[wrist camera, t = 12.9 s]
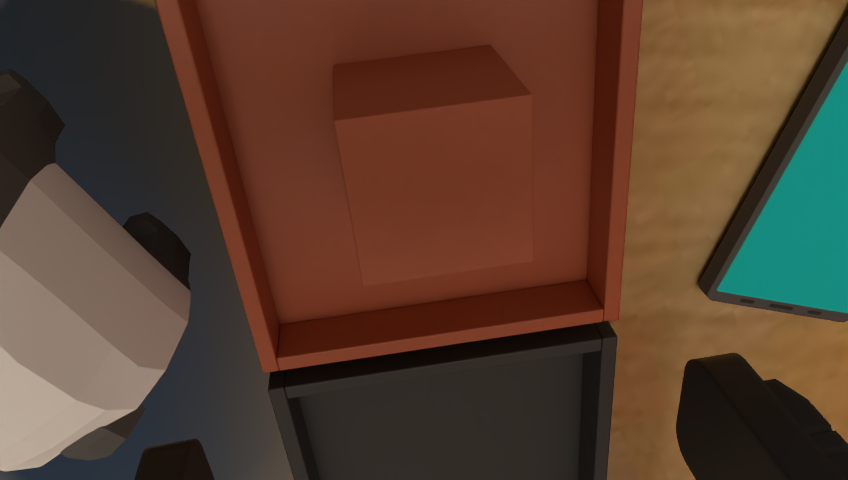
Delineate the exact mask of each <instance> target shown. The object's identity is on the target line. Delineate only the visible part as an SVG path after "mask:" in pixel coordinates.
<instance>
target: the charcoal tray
mask: <svg viewBox="0 0 848 480" xmlns="http://www.w3.org/2000/svg"><path fill="white" fill-rule="evenodd" d="M616 348H617V335H616V334H615V332H614V330H613V329H612V327H611V325H610V324H609V322H608V321H604V320H603V321H602V322H598V323H591V324H584V325H578V326H571V327H565V328H558V329H551V330H545V331H538V332H532V333H525V334H518V335H512V336H505V337H499V338H492V339H485V340H479V341H472V342H466V343H459V344H452V345H446V346H439V347H433V348H426V349H419V350H413V351H406V352H400V353H393V354H386V355H380V356H373V357H367V358H360V359H353V360H347V361H340V362H334V363H327V364H320V365H314V366H307V367H301V368H294V369H287V370H280V369H279V370H278V371H274V372H270V378H269V387H268V392H269V395H270V399H271V402H272V405H273V409H274V413H275V416H276V419H277V423H278V426H279V430H280V433H281V436H282V440H283V443H284V447H285V450H286V454H287V457H288V461H289V464H290V467H291V471H292V474H293V478H294V480H606V479H607V466H608V453H609V440H610V427H611V414H612V401H613V388H614V374H615V361H616Z"/></svg>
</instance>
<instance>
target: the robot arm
mask: <svg viewBox="0 0 848 480" xmlns="http://www.w3.org/2000/svg"><path fill="white" fill-rule="evenodd" d="M676 433H677V440H678V444H679V447H680V451H681V453H682V456H683V458H684V460H685V462H686V464H687V465H688V467H689V469H690V470H691V472H692V474H693V475H694V477H695V479H696V480H848V444H847V443H846V442H845V441H844V439H843V438H842V437H841V436H840V435H839V434H838V433H837V432H836V431H832V429H831V425H830V424H829V423H828V422H827V420H826V419H825V418H824V417H823V416H822V415H821V414H820V413H819V412H818V410H817V409H816V408H815V407H814V406H813V405H812V404H811V403H810V402H809V400H808V399H806V398H805V397H803V396H801V395H800V394H798V393H797V392H795V391H794V390H792V389H790V388H789V387H787V386H786V385H784V384H783V383H781V382H779V381H778V380H776V379H772V380H766V381H763V380H762V379H761V378H760V377H759V375H758V374H757V373H756V372H755V371H754V370H753V368H752V367H751V366H750V365H749V364H748V362H747V361H746V360H745V359H744V358H743V357H742V356H740V355H739V354H737V353H729V354H723V355H717V356H711V357H704V358H698V359H692V360H689V361H688V362H687V364H686V366H685V371H684V377H683V383H682V390H681V396H680V403H679V409H678V415H677V422H676ZM135 480H214V477H213V474H212V472H211V469H210V466H209V464H208V461H207V458H206V456H205V453H204V450H203V448H202V445H201V443H200V442H199V441H198V440H197V439H192V440H186V441H180V442H173V443H168V444H161V445H156V446H149V447H147V448H146V449H145V450H144V452H143V454H142V457H141V460H140V463H139V466H138V470H137V473H136V477H135Z"/></svg>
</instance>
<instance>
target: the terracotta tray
mask: <svg viewBox="0 0 848 480" xmlns="http://www.w3.org/2000/svg"><path fill="white" fill-rule="evenodd" d="M155 4H156V7H157V11H158V14H159V17H160V21H161V24H162V28H163V31H164V35H165V38H166V41H167V45H168V48H169V51H170V55H171V59H172V62H173V65H174V69H175V72H176V76H177V79H178V83H179V86H180V90H181V93H182V96H183V100H184V103H185V107H186V110H187V114H188V117H189V121H190V124H191V127H192V131H193V134H194V138H195V141H196V144H197V148H198V151H199V155H200V158H201V161H202V165H203V168H204V172H205V175H206V178H207V182H208V186H209V189H210V193H211V196H212V199H213V203H214V206H215V210H216V213H217V216H218V220H219V223H220V227H221V230H222V234H223V237H224V241H225V244H226V248H227V251H228V254H229V257H230V261H231V265H232V268H233V272H234V275H235V279H236V282H237V285H238V289H239V292H240V295H241V299H242V302H243V306H244V309H245V313H246V316H247V320H248V323H249V327H250V330H251V334H252V337H253V340H254V344H255V347H256V351H257V354H258V357H259V361H260V364H261V368H262V371H263V373H267V372H274V371H278V370H279V369H280V370H287V369H294V368H301V367H307V366H314V365H320V364H327V363H334V362H340V361H347V360H353V359H360V358H367V357H373V356H380V355H386V354H393V353H400V352H406V351H413V350H419V349H426V348H433V347H439V346H446V345H452V344H459V343H466V342H472V341H479V340H485V339H492V338H499V337H505V336H512V335H518V334H525V333H532V332H538V331H545V330H551V329H558V328H565V327H571V326H578V325H584V324H591V323H598V322H602V321H603V320H604V321H610V320H617V319H619V308H620V295H621V282H622V269H623V255H624V242H625V229H626V216H627V203H628V190H629V177H630V164H631V151H632V137H633V124H634V111H635V98H636V85H637V72H638V59H639V46H640V32H641V19H642V6H643V0H155ZM487 45H491V46H492V47H493V48H494V49H495V50H496V52H497V53H498V54H499V55H500V56H501V58H502V59H503V60H504V61H505V62H506V64H507V65H508V66H509V67H510V68H511V70H512V71H513V72H514V73H515V74H516V76H517V77H518V78H519V79H520V80H521V82H522V83H523V84H524V85H525V86H526V88H527V89H528V90H529V91H530V93H531V94H532V95H533V184H534V261H533V262H526V263H520V264H513V265H506V266H499V267H492V268H486V269H479V270H472V271H465V272H458V273H452V274H445V275H438V276H431V277H425V278H418V279H411V280H404V281H397V282H391V283H384V284H377V285H370V286H362V282H361V276H360V271H359V265H358V259H357V253H356V248H355V242H354V236H353V231H352V225H351V219H350V213H349V208H348V202H347V196H346V190H345V185H344V179H343V173H342V168H341V162H340V156H339V150H338V145H337V139H336V133H335V127H334V110H333V66H334V65H339V64H347V63H355V62H362V61H370V60H378V59H386V58H394V57H401V56H409V55H417V54H425V53H433V52H440V51H448V50H456V49H464V48H472V47H479V46H487Z"/></svg>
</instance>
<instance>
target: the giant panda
mask: <svg viewBox="0 0 848 480" xmlns="http://www.w3.org/2000/svg"><path fill="white" fill-rule="evenodd" d="M64 126H65V125H64V123H63V122H62V121H61V119H60V118H59V116H58V115H57V114H56V112H55V111H54V109H53V108H52V107H51V105H50V104H49V102H48V101H47V100H46V99H45V98H44V97H43V96H42V95H41V94H40V93H39V92H38V91H37V90H36V89H35V88H34V87H33V86H32V85H31V84H30V83H28V81H27V80H25V79H24V78H23V77H21V76H20V75H18V74H17V73H16V72H14V71H13V70H12V69H9V70H6V71H2V72H0V470H1V471H12V470H20V469H28V468H36V467H41V466H43V465H44V464H46V463H47V462H48V461H50V460H51V459H53V458H54V457H56V456H57V455H59V454H60V453H62V454H63V455H64V456H65V457H68V458H75V459H83V460H94V459H98V458H103V457H108V456H110V455H111V454H112V453H113V452H114V451H115V450H116V449H117V448H118V447H119V446H120V445H121V444H122V443H123V441H125V440H126V439H127V437H128V435H129V434H130V432H131V431H132V429H133V428H134V426H135V425H136V423H137V421H138V420H139V418H140V417H141V415H142V414H143V412H144V410H145V408H144V407H143V405H142V404H141V403H142V401H143V400H144V399H145V397H146V396H147V395H148V393H149V392H150V391H151V389H152V388H153V386H154V385H155V384H156V383H157V381H158V380H159V379H160V377H161V376H162V374H163V373H164V372H165V370H166V368H167V366H168V364H169V362H170V360H171V358H172V356H173V354H174V351H175V349H176V347H177V345H178V343H179V341H180V339H181V337H182V334H183V332H184V330H185V328H186V326H187V324H188V318H189V310H190V302H191V290H190V286H189V282H188V272H189V261H190V256H191V254H190V252H189V251H188V250H187V248H186V247H185V246H184V244H183V243H182V242H181V240H180V239H179V237H178V236H177V235H176V234H174V233H173V232H172V231H171V230H170V229H169V228H168V227H166V226H165V225H164V224H163V223H162V222H161V221H160V220H158V219H157V218H155V217H154V216H152V215H151V214H149V213H148V212H146V213H142V214H139V215H135V216H132V217H129V219H128V220H127V222H126V223H125V225H124V226H123V227H122V226H120V224H119V223H118V222H116V221H115V220H114V219H113V218H112V217H111V216H110V215H109V214H108V213H107V212H106V211H105V210H104V209H103V208H102V207H101V206H100V205H99V204H98V203H97V202H96V201H94V199H93V198H91V197H90V196H89V195H88V194H87V193H86V192H85V191H84V190H83V189H82V188H81V187H80V186H79V185H78V184H77V183H76V182H75V181H74V180H73V179H72V178H71V177H70V176H68V175H67V174H66V173H65V172H64V171H63V170H62V169H61V168H60V167H59V166H58V165H57V164H56V163H55V142H56V140H57V138H58V136H59V134H60V133H61V131H62V129H63V127H64Z"/></svg>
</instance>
